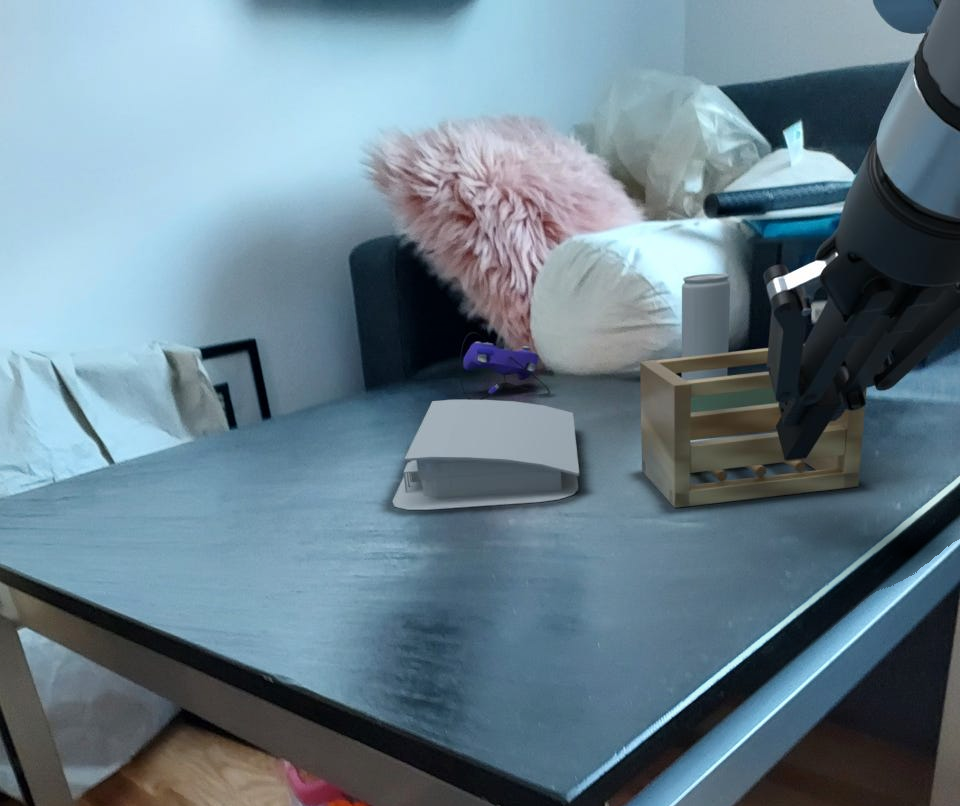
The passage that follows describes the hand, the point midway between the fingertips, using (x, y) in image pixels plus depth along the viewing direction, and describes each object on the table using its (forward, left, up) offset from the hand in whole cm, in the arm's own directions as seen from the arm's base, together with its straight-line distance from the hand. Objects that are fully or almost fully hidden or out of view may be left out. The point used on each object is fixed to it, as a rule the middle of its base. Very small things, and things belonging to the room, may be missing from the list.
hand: (791, 441), depth 65 cm
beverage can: (-6, -39, -5) cm, 40 cm away
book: (+19, -21, -5) cm, 29 cm away
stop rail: (-5, -30, -5) cm, 31 cm away
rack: (0, -9, -5) cm, 11 cm away
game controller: (+14, -51, -5) cm, 53 cm away
